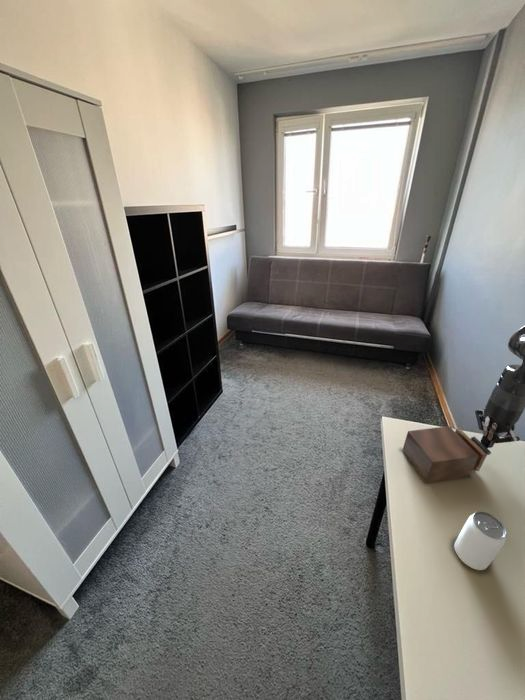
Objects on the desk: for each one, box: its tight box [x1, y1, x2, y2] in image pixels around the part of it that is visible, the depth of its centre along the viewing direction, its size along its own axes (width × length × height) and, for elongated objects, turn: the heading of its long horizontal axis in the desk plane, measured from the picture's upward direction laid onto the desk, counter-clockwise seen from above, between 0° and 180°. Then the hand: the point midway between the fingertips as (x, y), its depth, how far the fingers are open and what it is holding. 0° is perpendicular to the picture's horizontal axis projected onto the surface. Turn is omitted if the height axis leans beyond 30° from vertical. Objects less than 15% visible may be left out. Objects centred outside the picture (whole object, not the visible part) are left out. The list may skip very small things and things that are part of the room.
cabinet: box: [401, 425, 479, 483], centre depth 83 cm, size 14×12×9 cm
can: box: [454, 510, 507, 571], centre depth 60 cm, size 6×6×12 cm
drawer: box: [454, 428, 492, 473], centre depth 83 cm, size 17×10×7 cm, turn 97°
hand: (485, 446), depth 84 cm, fingers closed
